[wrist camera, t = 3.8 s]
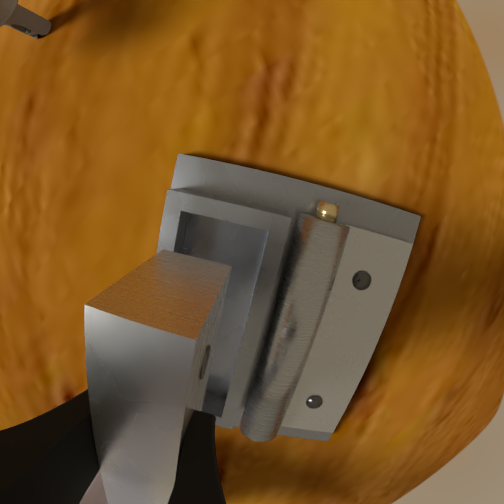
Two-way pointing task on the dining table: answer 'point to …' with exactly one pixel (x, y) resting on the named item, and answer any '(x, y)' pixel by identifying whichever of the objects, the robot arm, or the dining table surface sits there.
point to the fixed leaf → (287, 290)
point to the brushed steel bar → (150, 369)
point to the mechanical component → (22, 19)
